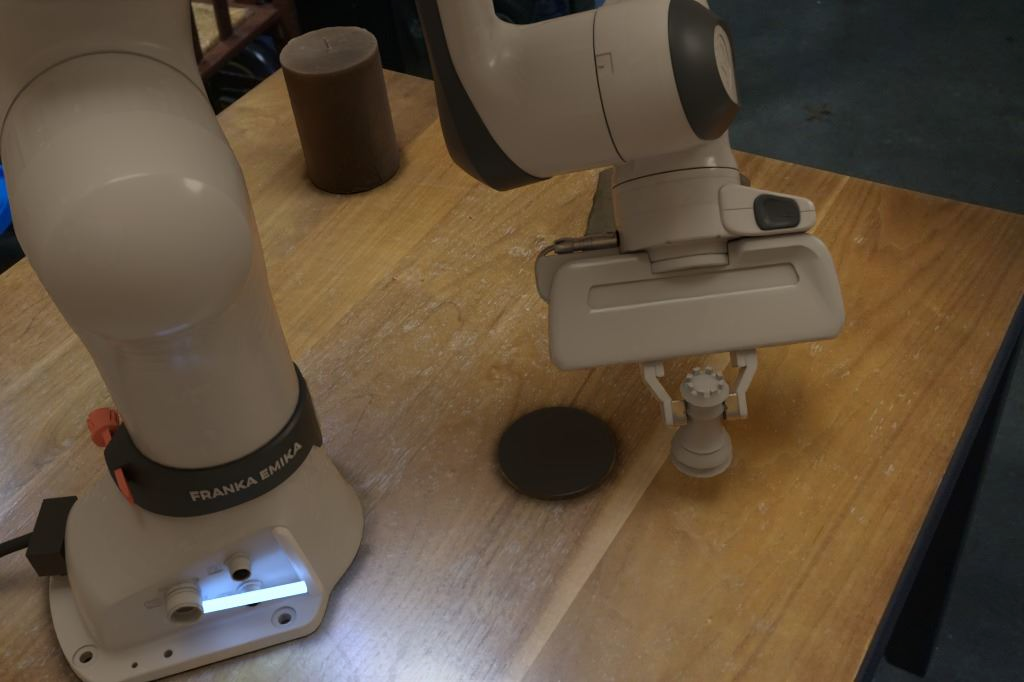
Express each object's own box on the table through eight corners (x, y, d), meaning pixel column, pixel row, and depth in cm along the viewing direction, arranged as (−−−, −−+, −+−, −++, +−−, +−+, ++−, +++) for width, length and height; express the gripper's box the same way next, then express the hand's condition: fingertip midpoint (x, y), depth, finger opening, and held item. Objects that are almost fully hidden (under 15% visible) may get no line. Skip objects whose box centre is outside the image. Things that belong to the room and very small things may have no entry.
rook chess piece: (742, 448, 79) (750, 369, 74) (716, 491, 77) (721, 412, 71) (685, 426, 81) (689, 348, 76) (658, 467, 79) (659, 389, 73)
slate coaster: (531, 519, 80) (531, 513, 79) (478, 439, 86) (477, 434, 85) (638, 469, 82) (638, 464, 82) (578, 395, 88) (578, 390, 88)
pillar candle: (370, 201, 111) (341, 68, 100) (290, 184, 114) (255, 53, 104) (417, 150, 117) (394, 19, 107) (340, 135, 120) (310, 7, 110)
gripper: (532, 235, 73) (557, 443, 72) (837, 198, 73) (865, 406, 72) (529, 247, 79) (552, 439, 78) (811, 214, 79) (836, 404, 79)
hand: (705, 423), depth 75 cm, fingers closed on rook chess piece, 3 cm apart
